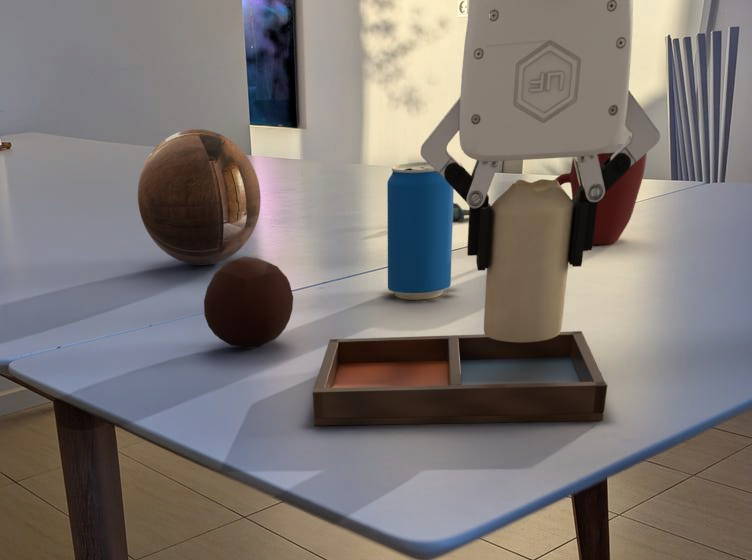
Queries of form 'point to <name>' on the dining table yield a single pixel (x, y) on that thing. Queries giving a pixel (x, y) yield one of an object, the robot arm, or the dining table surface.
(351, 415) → the sorting tray
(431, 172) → the beverage can
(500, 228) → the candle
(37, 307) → the dining table surface
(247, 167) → the brown shiny sphere
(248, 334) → the dark brown ball
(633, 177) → the mug
